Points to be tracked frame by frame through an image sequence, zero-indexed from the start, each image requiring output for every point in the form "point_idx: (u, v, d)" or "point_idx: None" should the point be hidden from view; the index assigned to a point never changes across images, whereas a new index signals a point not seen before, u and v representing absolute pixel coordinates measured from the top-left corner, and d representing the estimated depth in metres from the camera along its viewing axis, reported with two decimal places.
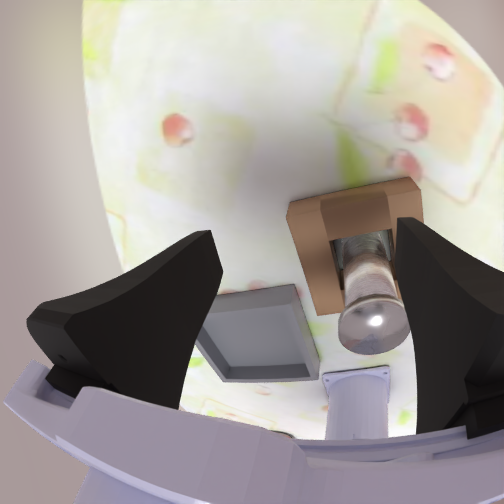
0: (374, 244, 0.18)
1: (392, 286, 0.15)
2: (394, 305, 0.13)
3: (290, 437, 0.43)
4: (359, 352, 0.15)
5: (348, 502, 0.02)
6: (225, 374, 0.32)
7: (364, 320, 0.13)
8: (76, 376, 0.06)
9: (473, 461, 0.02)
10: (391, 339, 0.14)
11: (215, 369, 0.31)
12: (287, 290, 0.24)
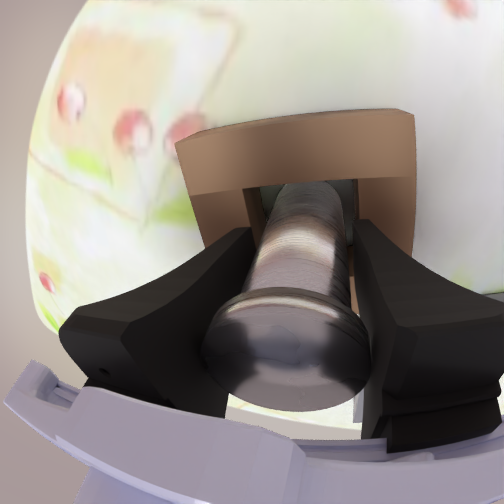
0: (268, 220, 0.11)
1: (258, 268, 0.08)
2: None
3: None
4: (350, 395, 0.06)
5: (348, 502, 0.02)
6: None
7: (245, 382, 0.07)
8: (120, 391, 0.05)
9: (473, 461, 0.02)
10: (319, 352, 0.06)
11: None
12: None
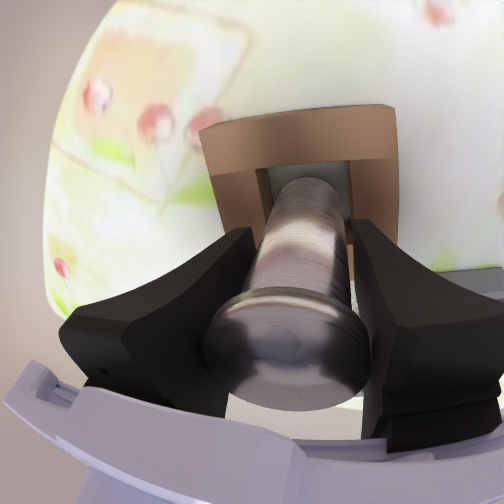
0: (268, 220, 0.11)
1: (258, 268, 0.08)
2: (204, 338, 0.06)
3: None
4: (350, 395, 0.06)
5: (348, 502, 0.02)
6: None
7: (245, 382, 0.07)
8: (120, 391, 0.05)
9: (473, 461, 0.02)
10: (319, 352, 0.06)
11: None
12: None
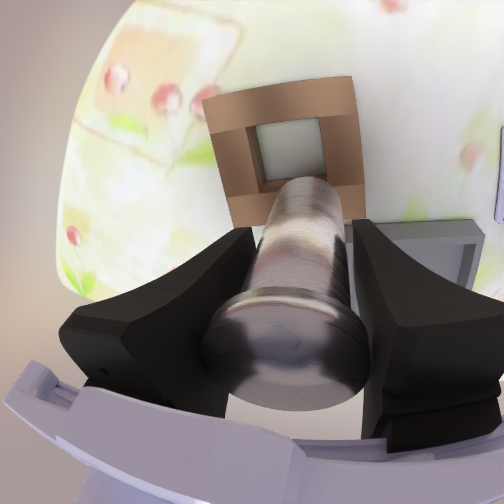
0: None
1: (257, 267, 0.08)
2: (203, 338, 0.06)
3: None
4: (350, 395, 0.06)
5: (348, 502, 0.02)
6: None
7: (244, 382, 0.07)
8: (120, 391, 0.05)
9: (473, 461, 0.02)
10: (318, 352, 0.06)
11: None
12: None
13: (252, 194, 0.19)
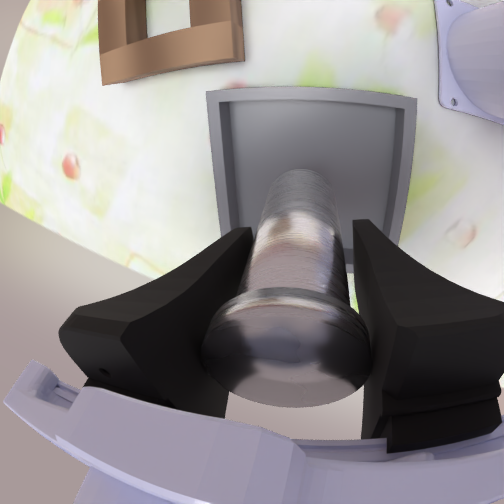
0: None
1: (254, 266, 0.08)
2: (203, 341, 0.06)
3: None
4: (352, 390, 0.06)
5: (348, 502, 0.02)
6: None
7: (246, 382, 0.07)
8: (120, 391, 0.05)
9: (473, 461, 0.02)
10: (319, 351, 0.06)
11: (352, 270, 0.18)
12: None
13: (120, 47, 0.13)
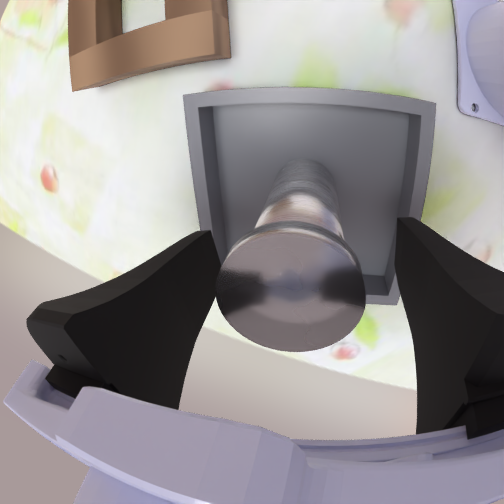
0: (269, 193, 0.13)
1: (263, 220, 0.09)
2: (219, 271, 0.07)
3: None
4: (350, 327, 0.07)
5: (348, 502, 0.02)
6: (381, 291, 0.16)
7: (255, 318, 0.08)
8: (76, 376, 0.06)
9: (473, 461, 0.02)
10: (318, 275, 0.07)
11: None
12: None
13: (90, 47, 0.11)
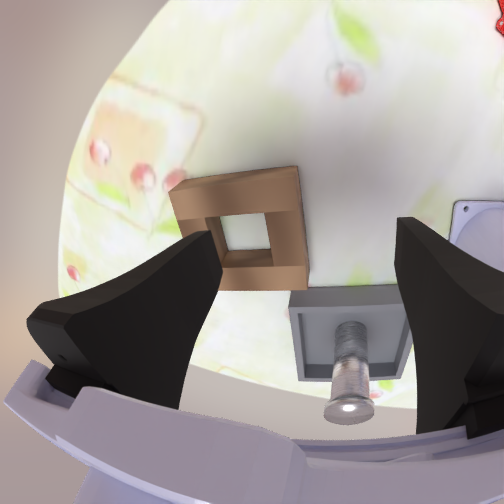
0: (335, 350, 0.24)
1: (338, 383, 0.20)
2: (326, 410, 0.19)
3: None
4: (369, 418, 0.19)
5: (348, 502, 0.02)
6: (391, 373, 0.26)
7: (336, 418, 0.19)
8: (76, 376, 0.06)
9: (473, 461, 0.02)
10: (358, 409, 0.18)
11: (377, 379, 0.26)
12: None
13: None
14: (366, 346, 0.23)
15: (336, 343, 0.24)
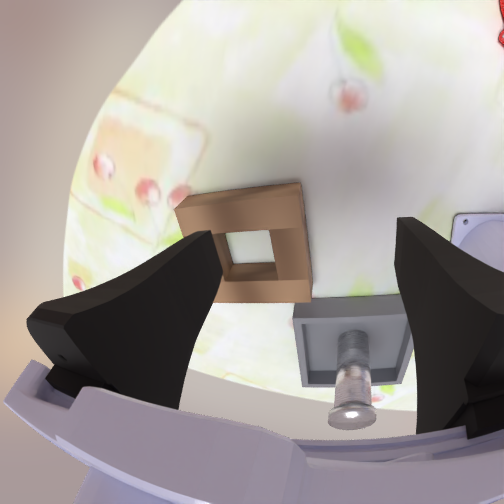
0: (338, 358, 0.25)
1: (341, 391, 0.21)
2: (330, 417, 0.19)
3: None
4: (371, 423, 0.19)
5: (348, 502, 0.02)
6: (392, 378, 0.27)
7: (340, 424, 0.20)
8: (76, 376, 0.06)
9: (473, 461, 0.02)
10: (361, 416, 0.19)
11: (378, 384, 0.27)
12: None
13: None
14: (368, 354, 0.24)
15: (339, 351, 0.25)
